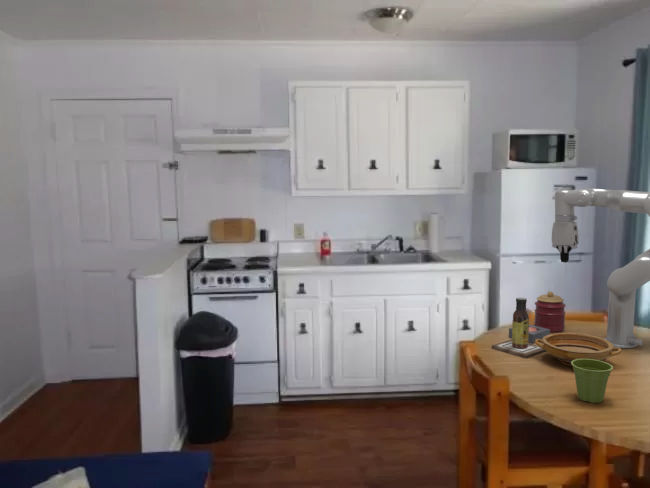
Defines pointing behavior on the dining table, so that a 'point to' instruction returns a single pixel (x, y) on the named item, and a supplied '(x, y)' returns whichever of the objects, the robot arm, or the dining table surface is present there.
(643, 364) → the dining table surface
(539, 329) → the button housing
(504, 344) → the pad
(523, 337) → the sauce bottle
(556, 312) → the canister
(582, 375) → the plant pot
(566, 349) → the ceramic bowl
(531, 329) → the button
